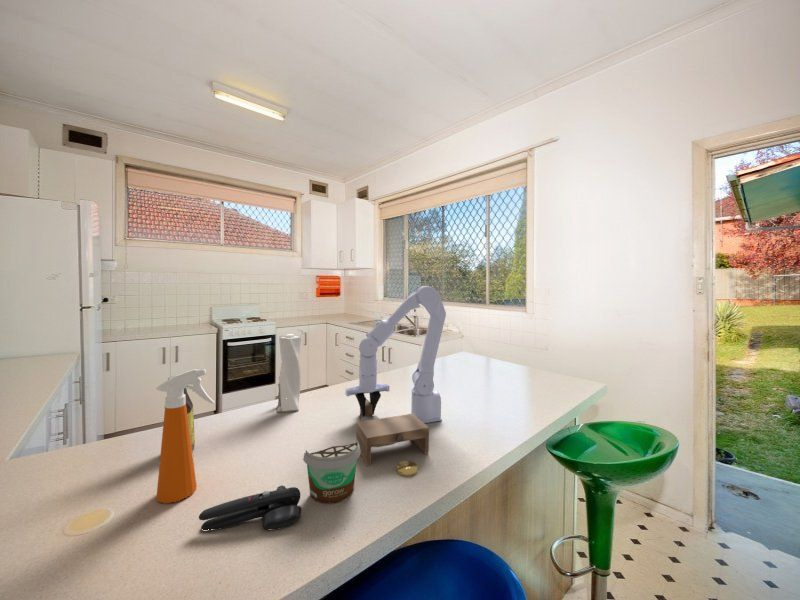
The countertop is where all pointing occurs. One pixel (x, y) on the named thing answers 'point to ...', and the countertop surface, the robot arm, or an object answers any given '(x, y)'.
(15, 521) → the countertop surface
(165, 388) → the spray bottle
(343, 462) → the food container
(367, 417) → the putty knife
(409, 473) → the brass token
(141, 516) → the countertop surface
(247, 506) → the can opener
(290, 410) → the skyscraper
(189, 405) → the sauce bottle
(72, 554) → the countertop surface
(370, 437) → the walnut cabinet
